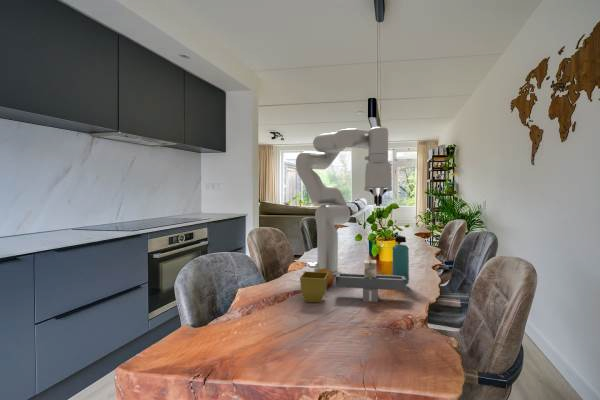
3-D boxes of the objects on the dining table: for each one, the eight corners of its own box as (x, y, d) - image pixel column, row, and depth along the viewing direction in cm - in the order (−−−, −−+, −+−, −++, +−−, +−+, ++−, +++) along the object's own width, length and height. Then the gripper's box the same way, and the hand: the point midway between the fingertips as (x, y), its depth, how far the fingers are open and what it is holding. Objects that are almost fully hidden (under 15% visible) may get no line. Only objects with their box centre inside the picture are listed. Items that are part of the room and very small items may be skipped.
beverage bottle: (405, 289, 133) (406, 237, 132) (389, 286, 137) (389, 236, 136) (411, 286, 138) (411, 236, 138) (395, 283, 142) (395, 234, 142)
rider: (364, 282, 121) (364, 262, 120) (364, 278, 126) (364, 259, 126) (376, 283, 120) (376, 263, 120) (375, 279, 125) (375, 259, 125)
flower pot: (325, 305, 115) (325, 278, 114) (299, 303, 116) (299, 277, 116) (328, 297, 123) (328, 272, 123) (304, 296, 125) (304, 271, 125)
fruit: (333, 279, 143) (333, 265, 138) (333, 294, 136) (333, 279, 132) (314, 279, 143) (313, 264, 139) (313, 293, 137) (312, 279, 133)
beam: (335, 299, 121) (335, 277, 121) (337, 292, 130) (337, 271, 130) (406, 303, 116) (406, 281, 116) (403, 295, 125) (403, 274, 125)
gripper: (358, 158, 134) (358, 206, 134) (398, 158, 131) (398, 206, 131) (359, 160, 141) (358, 205, 142) (397, 159, 138) (396, 205, 139)
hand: (377, 205), depth 136 cm, fingers closed
